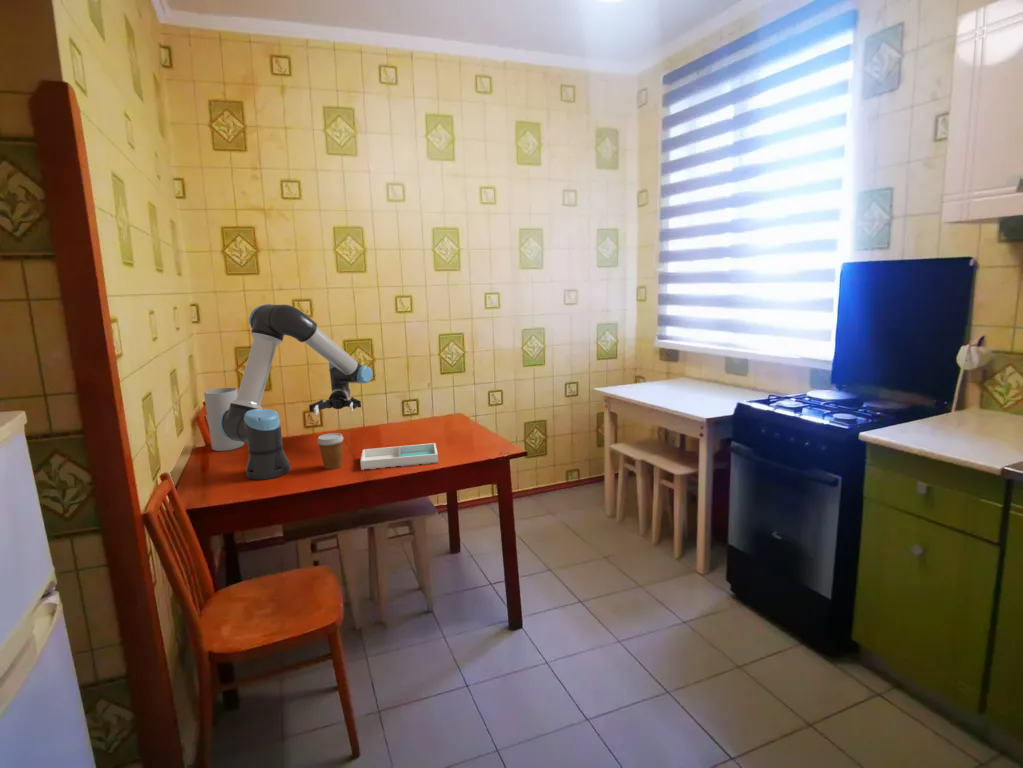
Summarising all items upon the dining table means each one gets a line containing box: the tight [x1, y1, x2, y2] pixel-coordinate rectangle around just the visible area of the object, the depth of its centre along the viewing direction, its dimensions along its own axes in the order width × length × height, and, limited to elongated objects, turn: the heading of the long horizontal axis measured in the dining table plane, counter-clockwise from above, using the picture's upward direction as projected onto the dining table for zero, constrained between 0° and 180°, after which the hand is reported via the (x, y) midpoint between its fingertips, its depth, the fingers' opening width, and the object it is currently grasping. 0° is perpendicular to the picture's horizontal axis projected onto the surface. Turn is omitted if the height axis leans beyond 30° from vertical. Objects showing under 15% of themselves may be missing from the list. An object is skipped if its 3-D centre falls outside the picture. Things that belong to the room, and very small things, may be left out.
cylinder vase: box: [203, 387, 245, 452], centre depth 239 cm, size 12×12×25 cm
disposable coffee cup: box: [316, 432, 344, 470], centre depth 210 cm, size 10×10×12 cm
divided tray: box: [359, 442, 439, 471], centre depth 216 cm, size 28×15×4 cm, turn 101°
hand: (333, 410), depth 220 cm, fingers open, 13 cm apart
